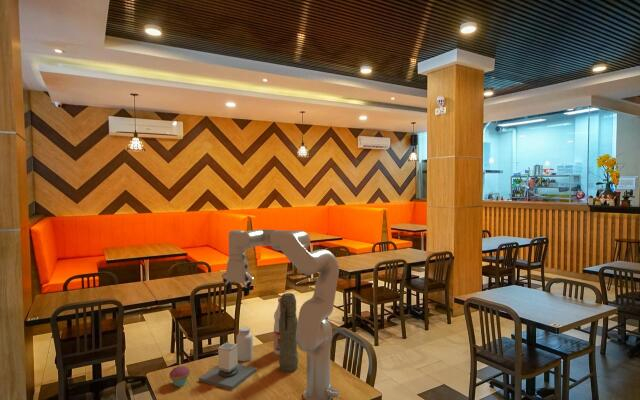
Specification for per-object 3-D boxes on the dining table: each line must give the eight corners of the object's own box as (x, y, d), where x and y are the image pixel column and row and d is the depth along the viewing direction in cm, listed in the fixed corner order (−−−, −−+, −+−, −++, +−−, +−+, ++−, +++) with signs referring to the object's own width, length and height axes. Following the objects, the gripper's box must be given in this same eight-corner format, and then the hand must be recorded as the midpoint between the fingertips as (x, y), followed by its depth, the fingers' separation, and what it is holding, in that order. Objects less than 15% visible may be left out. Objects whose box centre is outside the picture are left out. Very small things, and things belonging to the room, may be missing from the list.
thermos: (275, 373, 179) (275, 297, 177) (282, 361, 190) (282, 290, 189) (294, 374, 177) (294, 298, 176) (300, 363, 189) (300, 291, 187)
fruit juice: (286, 346, 208) (285, 294, 206) (295, 352, 200) (295, 299, 199) (270, 351, 202) (270, 298, 201) (280, 357, 194) (279, 302, 193)
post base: (256, 371, 181) (256, 344, 180) (232, 390, 164) (231, 361, 164) (225, 363, 188) (224, 338, 187) (198, 381, 172) (198, 353, 171)
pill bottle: (249, 362, 189) (248, 332, 189) (233, 361, 191) (233, 330, 190) (255, 355, 197) (254, 326, 197) (240, 354, 199) (239, 325, 198)
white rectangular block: (237, 366, 177) (237, 344, 177) (229, 371, 172) (229, 349, 171) (227, 363, 180) (226, 342, 180) (218, 369, 174) (218, 347, 174)
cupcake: (169, 380, 172) (169, 354, 172) (190, 377, 175) (189, 351, 175) (169, 390, 164) (169, 362, 164) (190, 386, 167) (190, 359, 167)
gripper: (257, 257, 177) (258, 294, 178) (227, 254, 184) (227, 290, 185) (248, 260, 170) (248, 299, 171) (216, 257, 178) (217, 294, 178)
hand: (237, 294), depth 178 cm, fingers open, 9 cm apart
